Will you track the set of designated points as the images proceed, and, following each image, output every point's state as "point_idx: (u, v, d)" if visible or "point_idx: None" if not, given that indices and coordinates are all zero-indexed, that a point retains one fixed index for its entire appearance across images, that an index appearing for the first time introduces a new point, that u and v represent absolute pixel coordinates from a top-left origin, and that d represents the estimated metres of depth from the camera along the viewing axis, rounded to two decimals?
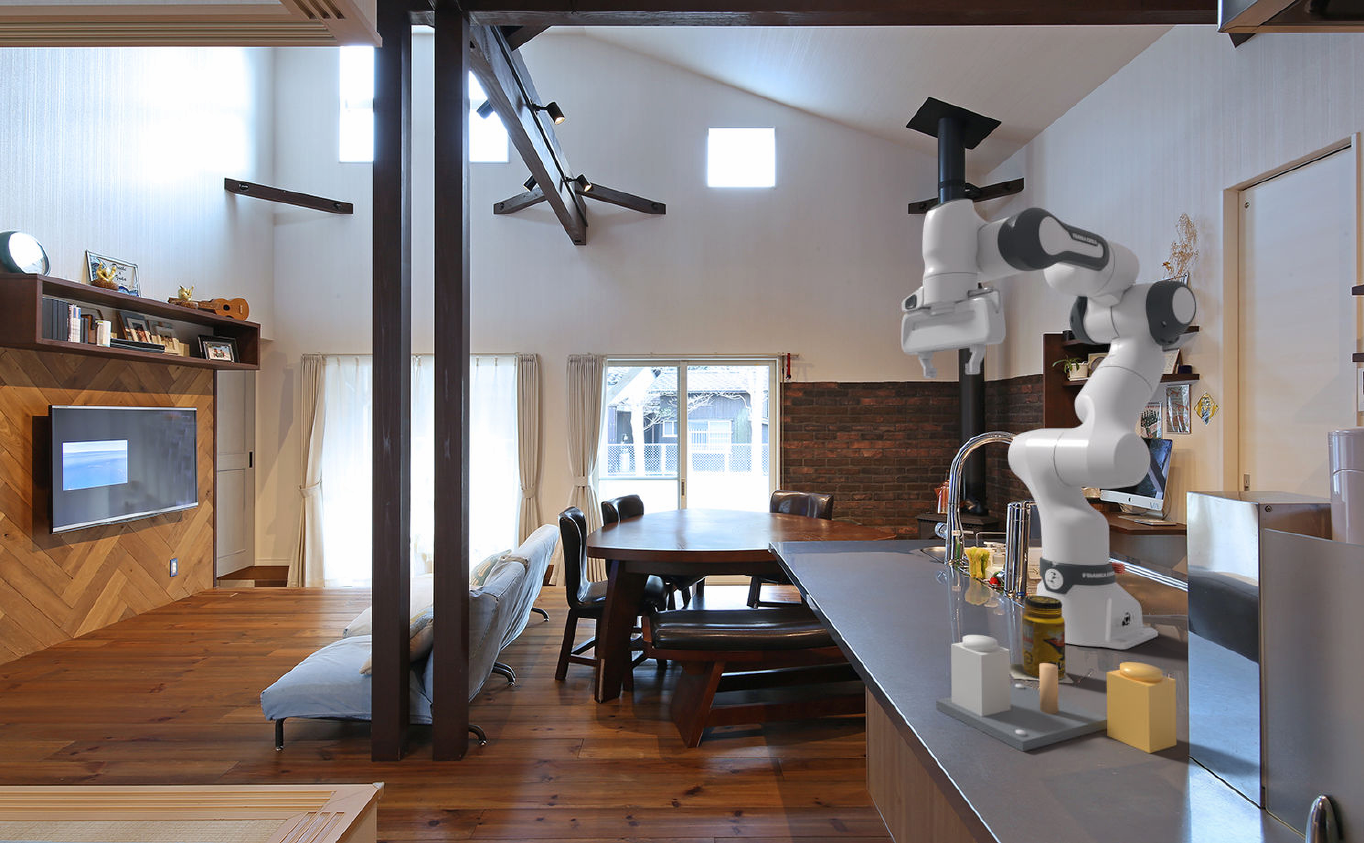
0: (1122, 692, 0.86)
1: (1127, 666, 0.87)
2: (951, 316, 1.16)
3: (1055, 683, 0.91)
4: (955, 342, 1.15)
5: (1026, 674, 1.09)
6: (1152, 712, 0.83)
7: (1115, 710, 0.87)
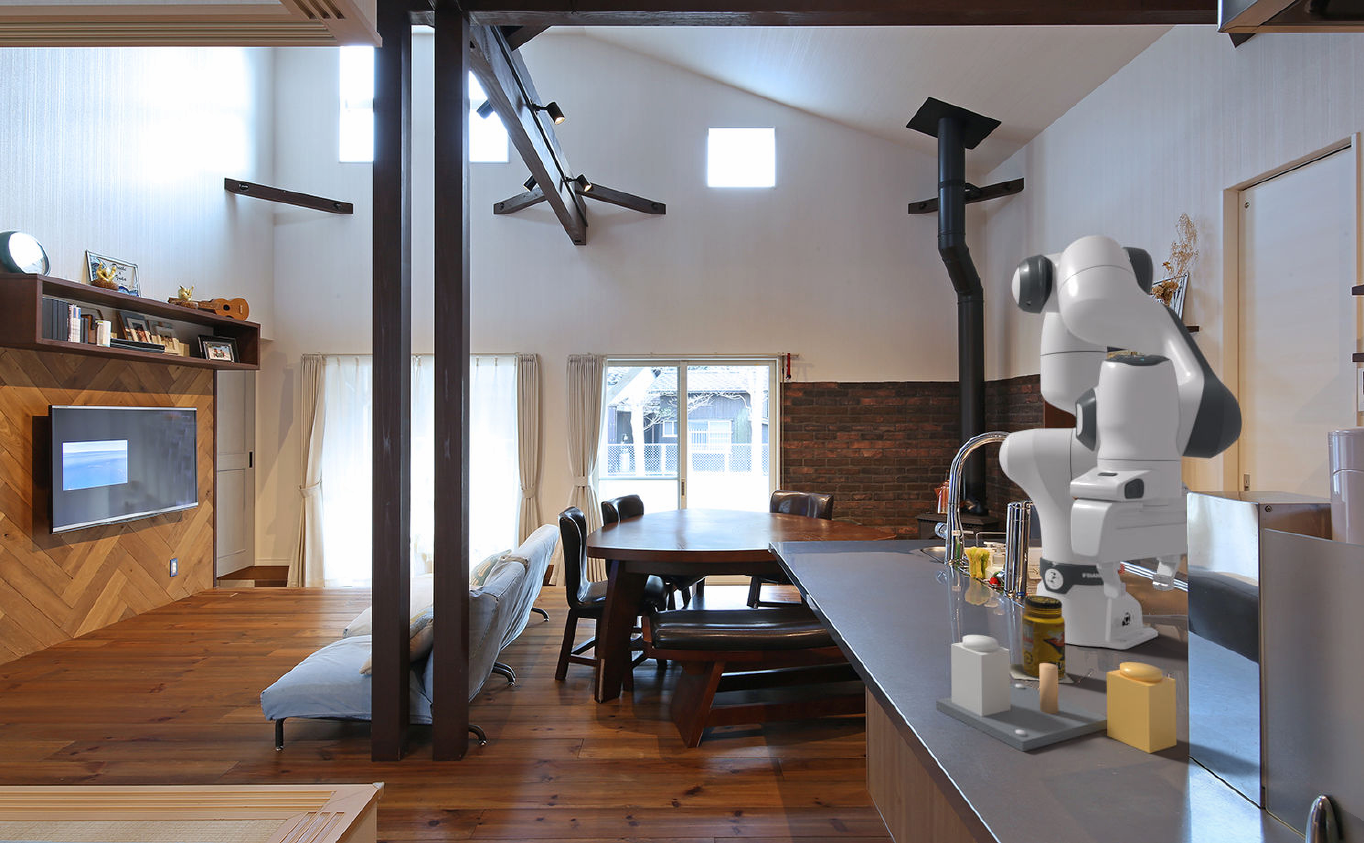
0: (1122, 692, 0.86)
1: (1127, 666, 0.87)
2: (1160, 514, 0.86)
3: (1055, 683, 0.91)
4: (1168, 550, 0.86)
5: (1026, 674, 1.09)
6: (1152, 712, 0.83)
7: (1115, 710, 0.87)
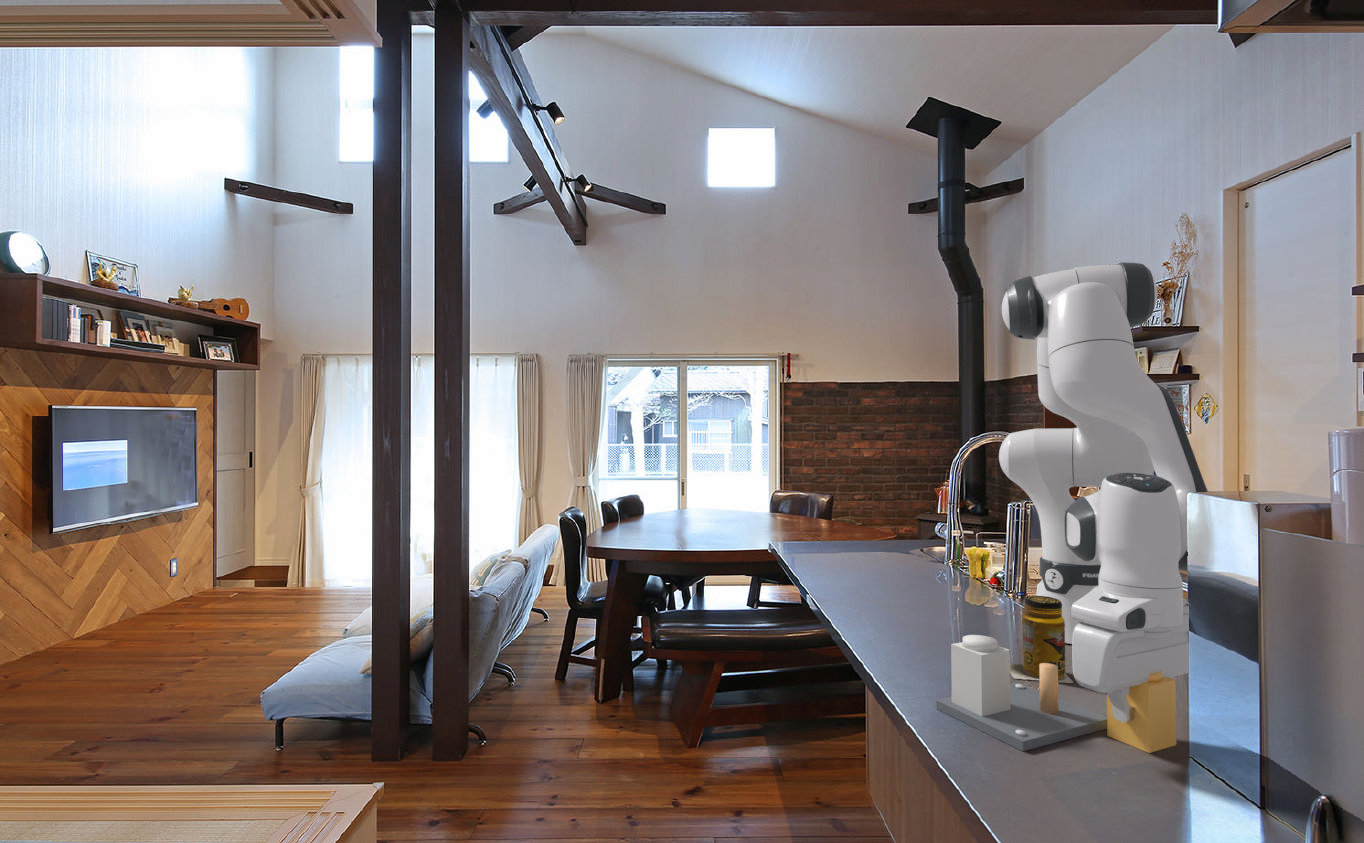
0: None
1: None
2: None
3: (1055, 683, 0.91)
4: (1170, 673, 0.86)
5: (1026, 674, 1.09)
6: (1152, 712, 0.83)
7: None
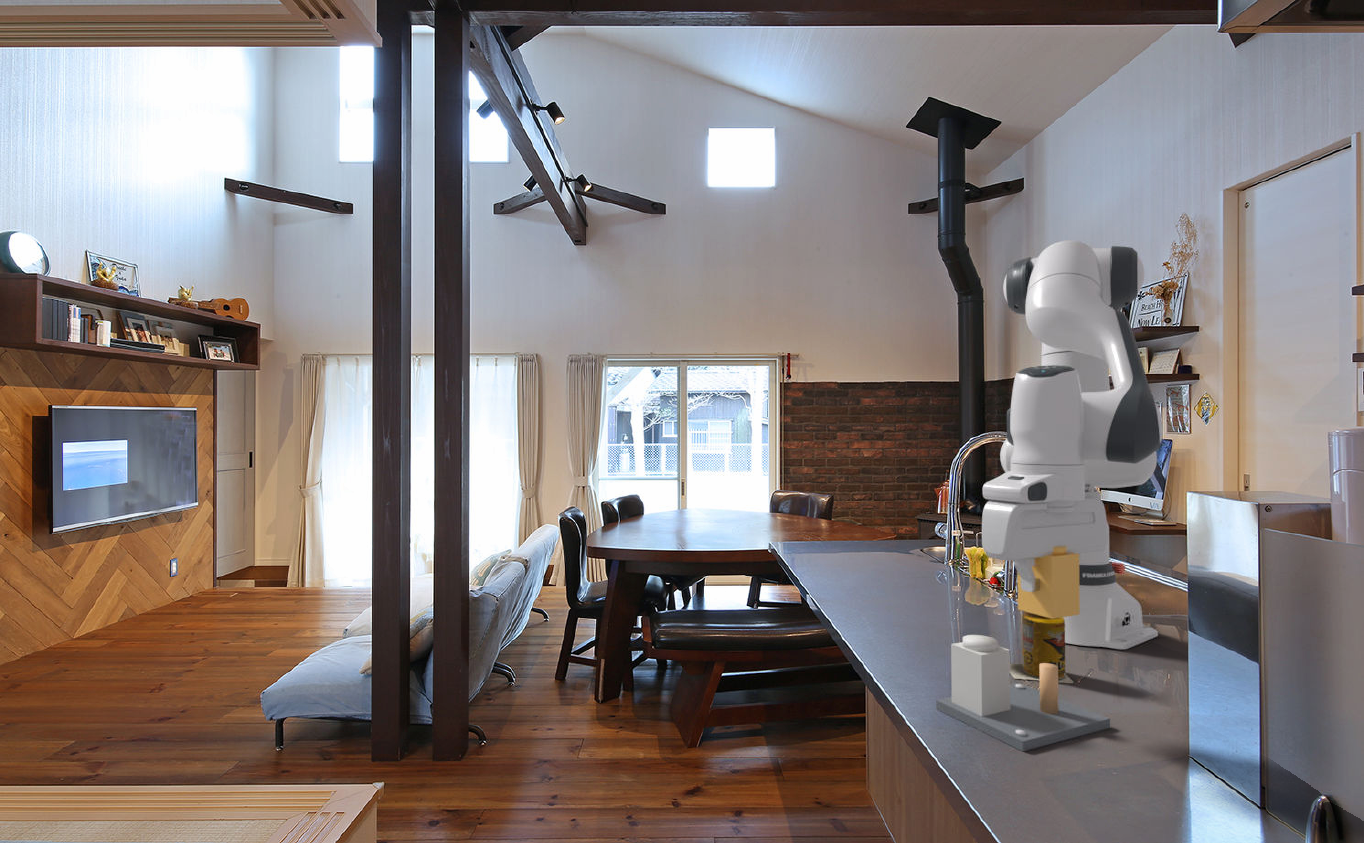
0: None
1: None
2: (1067, 515, 0.92)
3: (1055, 683, 0.91)
4: (1074, 549, 0.92)
5: (1026, 674, 1.09)
6: (1055, 581, 0.89)
7: None
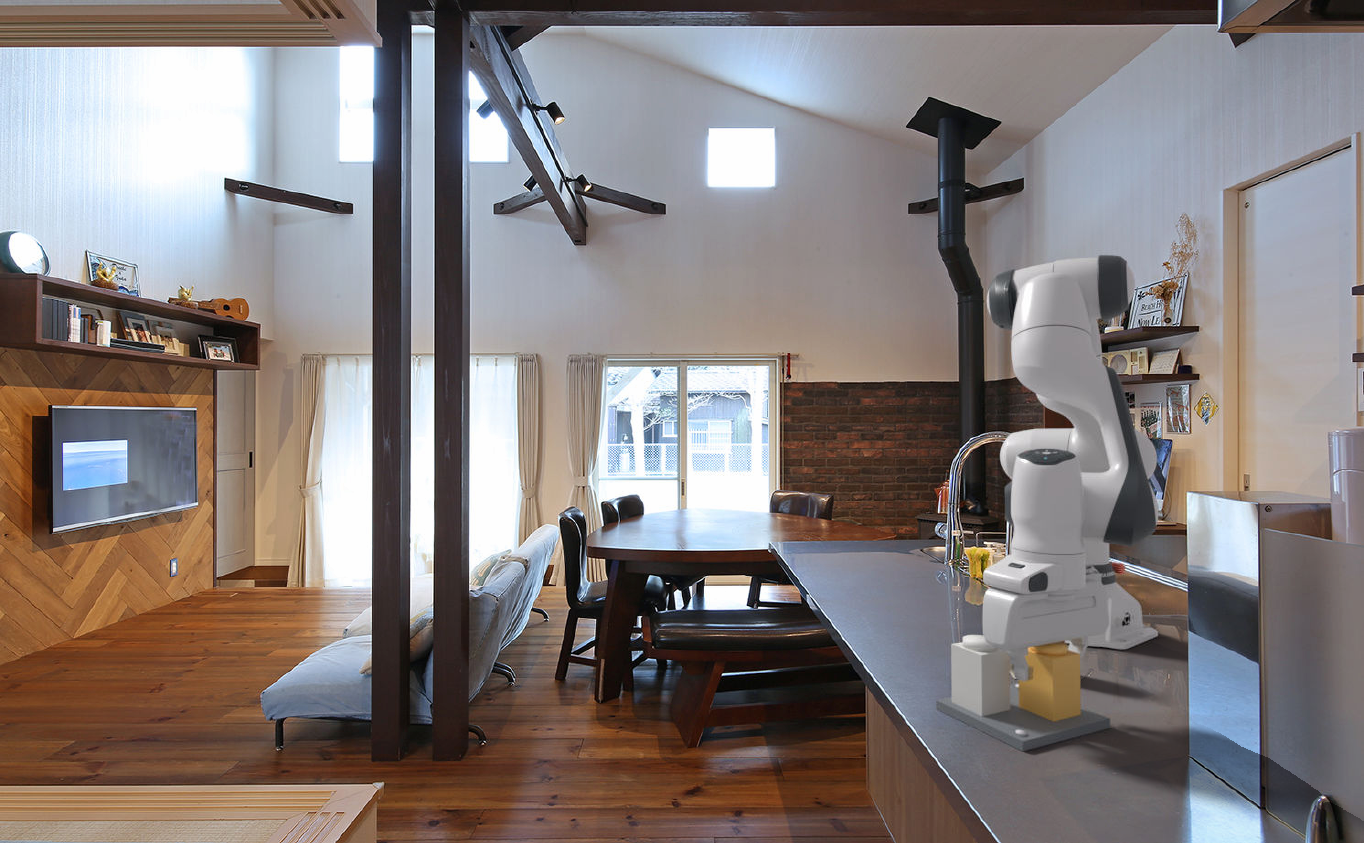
0: (1031, 665, 0.92)
1: None
2: (1068, 600, 0.92)
3: None
4: (1075, 634, 0.92)
5: None
6: (1056, 683, 0.89)
7: (1025, 682, 0.93)
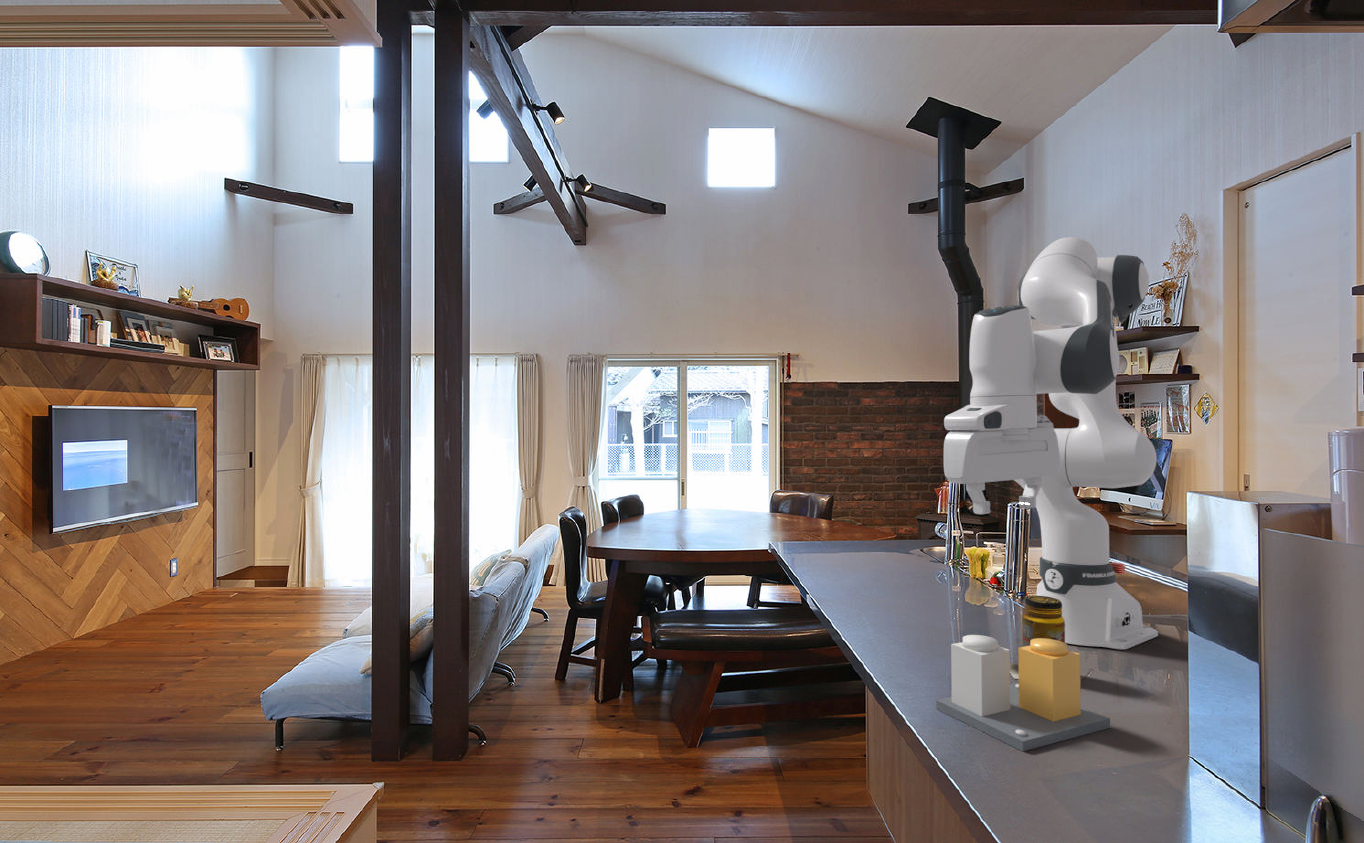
0: (1031, 665, 0.92)
1: (1036, 642, 0.93)
2: (1021, 443, 1.00)
3: None
4: (1028, 474, 1.00)
5: None
6: (1056, 683, 0.89)
7: (1025, 682, 0.93)
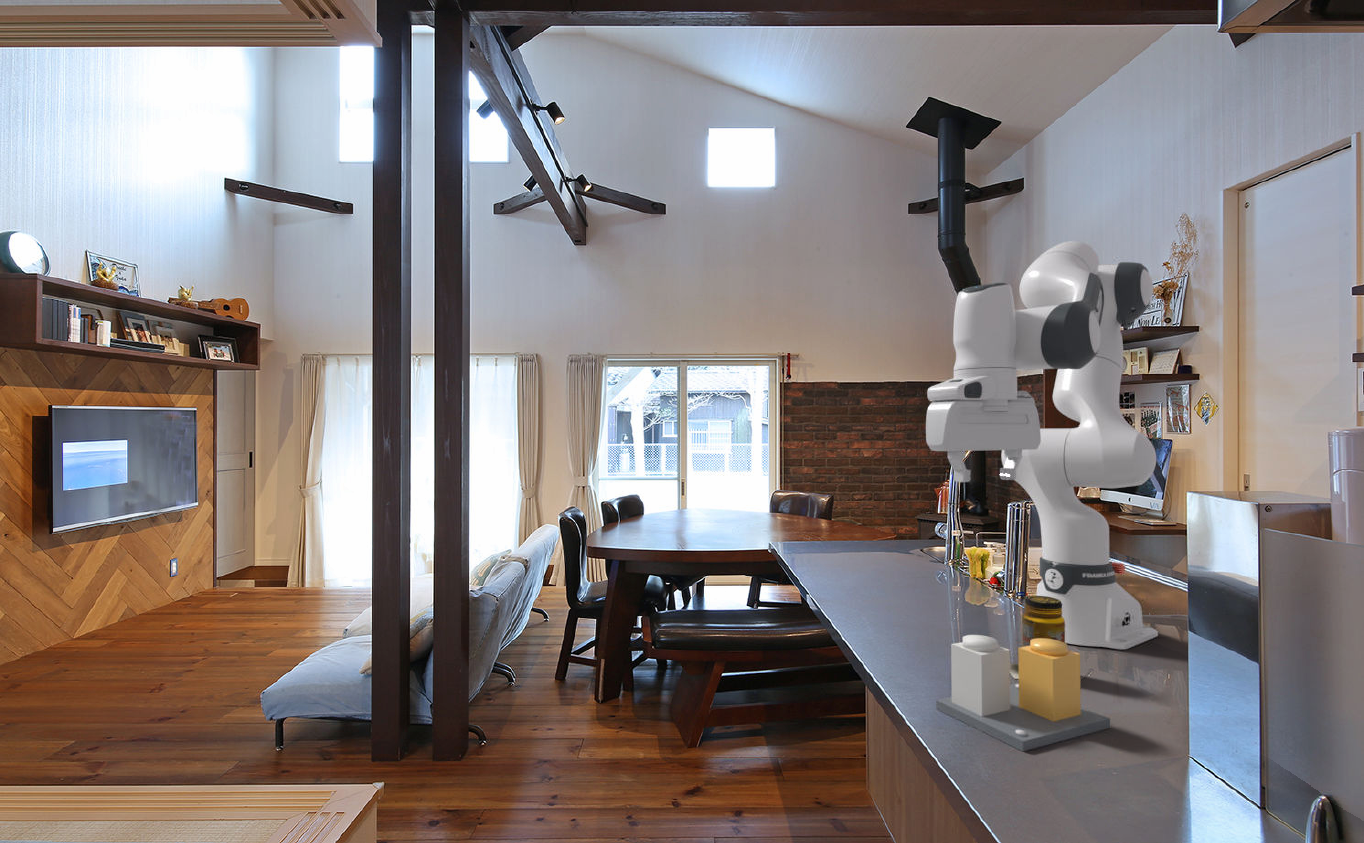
0: (1031, 665, 0.92)
1: (1036, 642, 0.93)
2: (1002, 415, 1.04)
3: None
4: (1009, 445, 1.04)
5: None
6: (1056, 683, 0.89)
7: (1025, 682, 0.93)
